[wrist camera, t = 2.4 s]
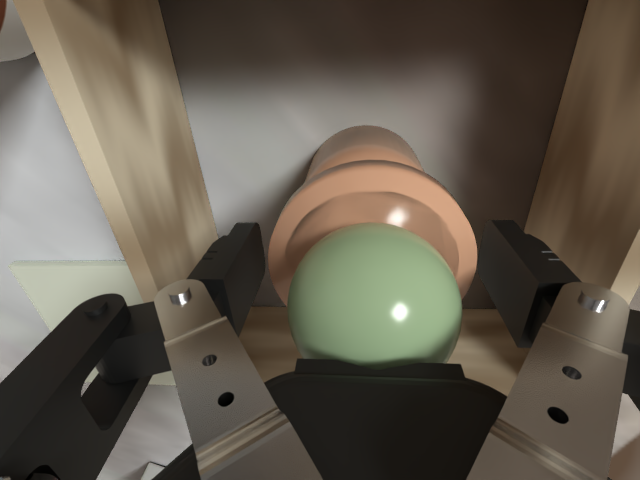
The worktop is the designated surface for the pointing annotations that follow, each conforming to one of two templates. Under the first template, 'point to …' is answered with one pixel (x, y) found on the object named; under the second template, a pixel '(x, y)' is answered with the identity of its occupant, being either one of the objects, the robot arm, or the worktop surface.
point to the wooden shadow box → (192, 200)
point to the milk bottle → (12, 34)
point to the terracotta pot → (372, 255)
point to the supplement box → (151, 471)
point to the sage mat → (77, 291)
